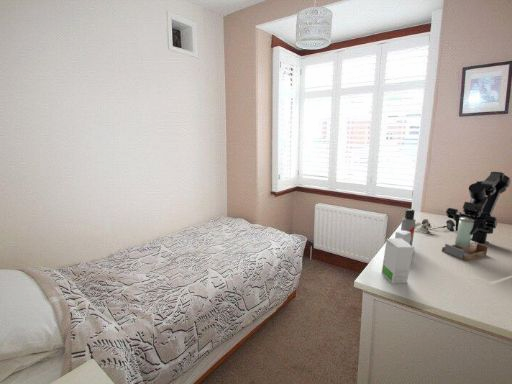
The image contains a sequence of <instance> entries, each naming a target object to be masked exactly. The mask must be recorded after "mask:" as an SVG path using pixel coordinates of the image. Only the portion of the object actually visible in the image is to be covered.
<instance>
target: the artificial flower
mask: <svg viewBox="0 0 512 384" xmlns="http://www.w3.org/2000/svg"><path fill="white" fill-rule="evenodd" d="M445 223H446V225H443V226H439V227H434V224H432V225H431V223H430V222H429V219H427V218H423V220H422V222H415V229H414V230H416V232H417V233H418V234H424V235H425V234H428V231H431V230H432V231H433V230H435V229H445V228H446V229H447V230H449V231H450V232H454V231H455V228H454V227H456V222H454V220H453V219H448V220H446V221H445ZM433 227H434V228H433Z"/></svg>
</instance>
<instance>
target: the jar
mask: <svg viewBox="0 0 512 384" xmlns="http://www.w3.org/2000/svg"><path fill="white" fill-rule="evenodd" d="M477 244H478V243H477V242H475V241H471V240H470V245H469V247H468V248H465V247H463V249H462V250H464V251H465V253H468V254H474V253H476V248H477Z"/></svg>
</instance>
